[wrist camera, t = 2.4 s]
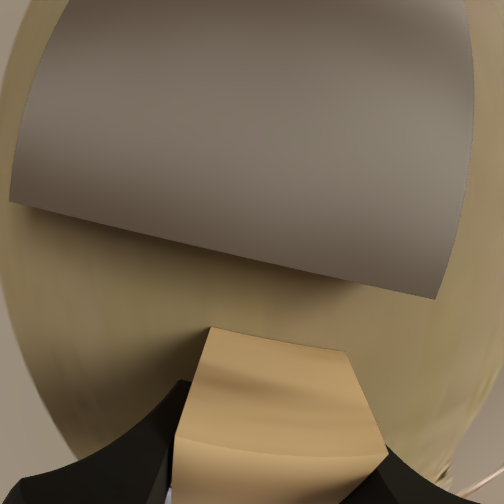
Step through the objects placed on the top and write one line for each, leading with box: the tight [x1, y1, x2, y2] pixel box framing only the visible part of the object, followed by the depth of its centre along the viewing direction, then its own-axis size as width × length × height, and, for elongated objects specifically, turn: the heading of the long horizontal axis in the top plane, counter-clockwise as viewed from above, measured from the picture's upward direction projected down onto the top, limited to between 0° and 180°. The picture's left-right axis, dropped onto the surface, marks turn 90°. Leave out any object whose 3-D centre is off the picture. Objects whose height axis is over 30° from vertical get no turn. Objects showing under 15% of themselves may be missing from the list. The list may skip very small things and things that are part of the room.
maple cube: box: [171, 327, 389, 504], centre depth 8 cm, size 5×5×5 cm
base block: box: [9, 0, 474, 300], centre depth 6 cm, size 12×12×3 cm
